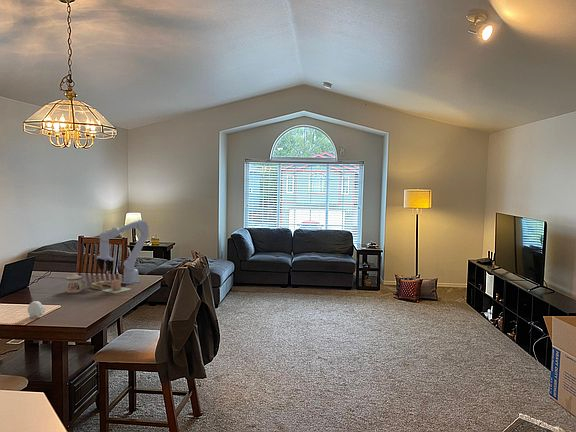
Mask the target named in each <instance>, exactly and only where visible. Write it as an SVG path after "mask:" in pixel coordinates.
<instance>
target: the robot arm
mask: <svg viewBox="0 0 576 432" xmlns="http://www.w3.org/2000/svg"><path fill="white" fill-rule="evenodd" d="M131 229H136V230H137V229H138V230H139V234H140V235H139V237H138V239H137V242H136V243H135V245H134V247H133V249H132V250H131V252H130V254H129V256H128V257H127V258H126V259H125V260H124V261H123V266H124V268H123V281H121V284H125V285H131V284H136V283H139V282H140V280H139V278H140V275H139V270H138V269H137V268H135V264H136V262H137V258H138V257H139V254H140V253H141V250H143V247H144V245H145V243H146V241H147V240H148V239H149V235H150V232H149V225H148V224H147V222H146V221H144V219H139V220H135V221H132V222H130V223H127V224H126V225H123V226H121V227H112V228H111V229H109V230H105V231H103V232H100V234H99V237H98V238H99V255H96V261H95V262H97V264H98V268H99V271H103V270H104V267H105V266H106V271H107V272H111V270H112V266H113V263H114V261H115V260H114V257H112V256H110V242H109V241H110V240H111V239H115V238H116V237H118V236H120V235H121V233H124V232H126V231H129V230H131ZM104 265H105V266H104Z"/></svg>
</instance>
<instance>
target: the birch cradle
mask: <svg viewBox="0 0 576 432" xmlns="http://www.w3.org/2000/svg"><path fill="white" fill-rule="evenodd" d="M111 283H112V281H111V280H110V281H109V280H102V281H101V280H100V281H97V282H93V283H89V289H94V290H99V291H102V290H104V286H108V287H111Z"/></svg>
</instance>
